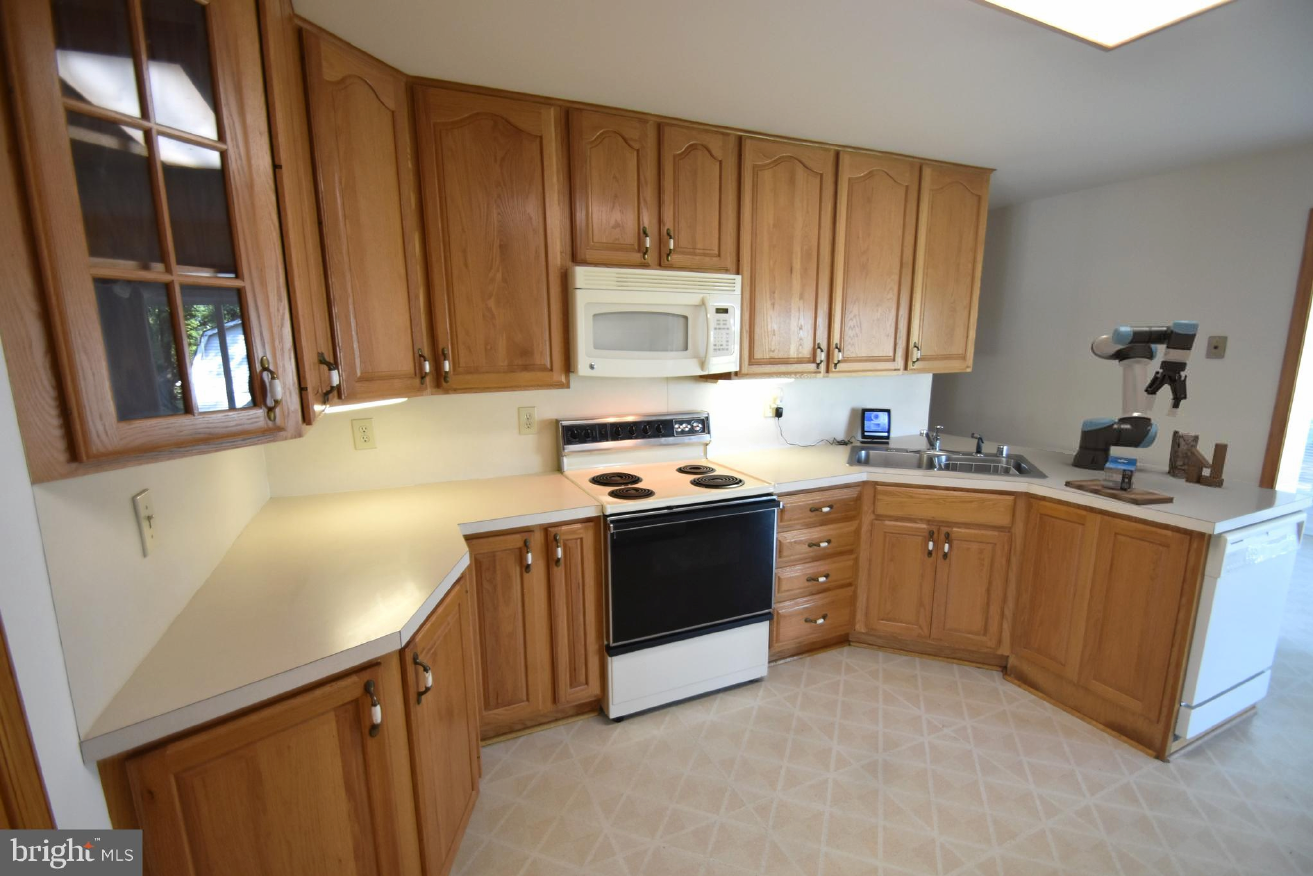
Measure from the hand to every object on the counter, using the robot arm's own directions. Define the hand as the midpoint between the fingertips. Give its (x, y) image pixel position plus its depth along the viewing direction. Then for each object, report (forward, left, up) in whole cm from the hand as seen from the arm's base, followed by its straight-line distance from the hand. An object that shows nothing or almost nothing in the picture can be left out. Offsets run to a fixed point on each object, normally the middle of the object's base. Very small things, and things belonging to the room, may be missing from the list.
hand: (1158, 413), depth 215 cm
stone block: (-10, +31, -30) cm, 44 cm away
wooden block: (+4, +24, -30) cm, 39 cm away
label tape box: (+8, -27, -28) cm, 40 cm away
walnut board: (+8, -27, -30) cm, 41 cm away
